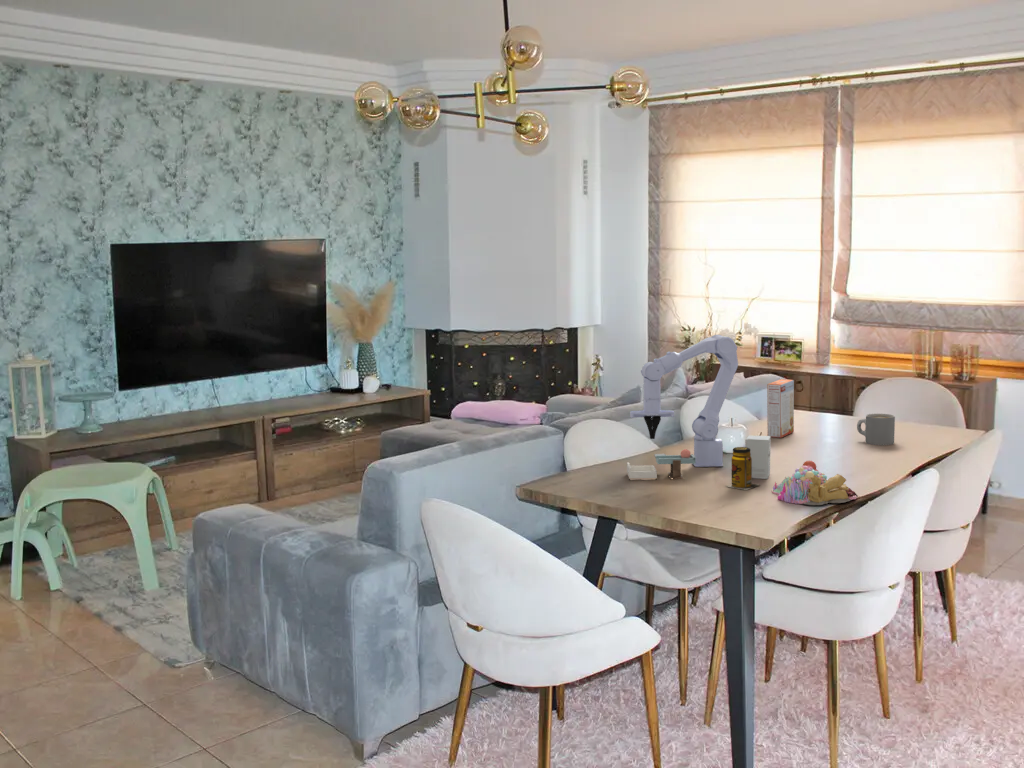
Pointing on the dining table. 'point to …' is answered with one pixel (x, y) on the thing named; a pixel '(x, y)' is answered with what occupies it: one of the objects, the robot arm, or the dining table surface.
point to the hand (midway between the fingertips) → (652, 438)
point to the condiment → (742, 469)
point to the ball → (685, 453)
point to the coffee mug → (878, 429)
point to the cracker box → (780, 408)
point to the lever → (669, 459)
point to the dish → (641, 471)
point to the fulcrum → (676, 470)
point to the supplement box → (759, 455)
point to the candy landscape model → (813, 487)
